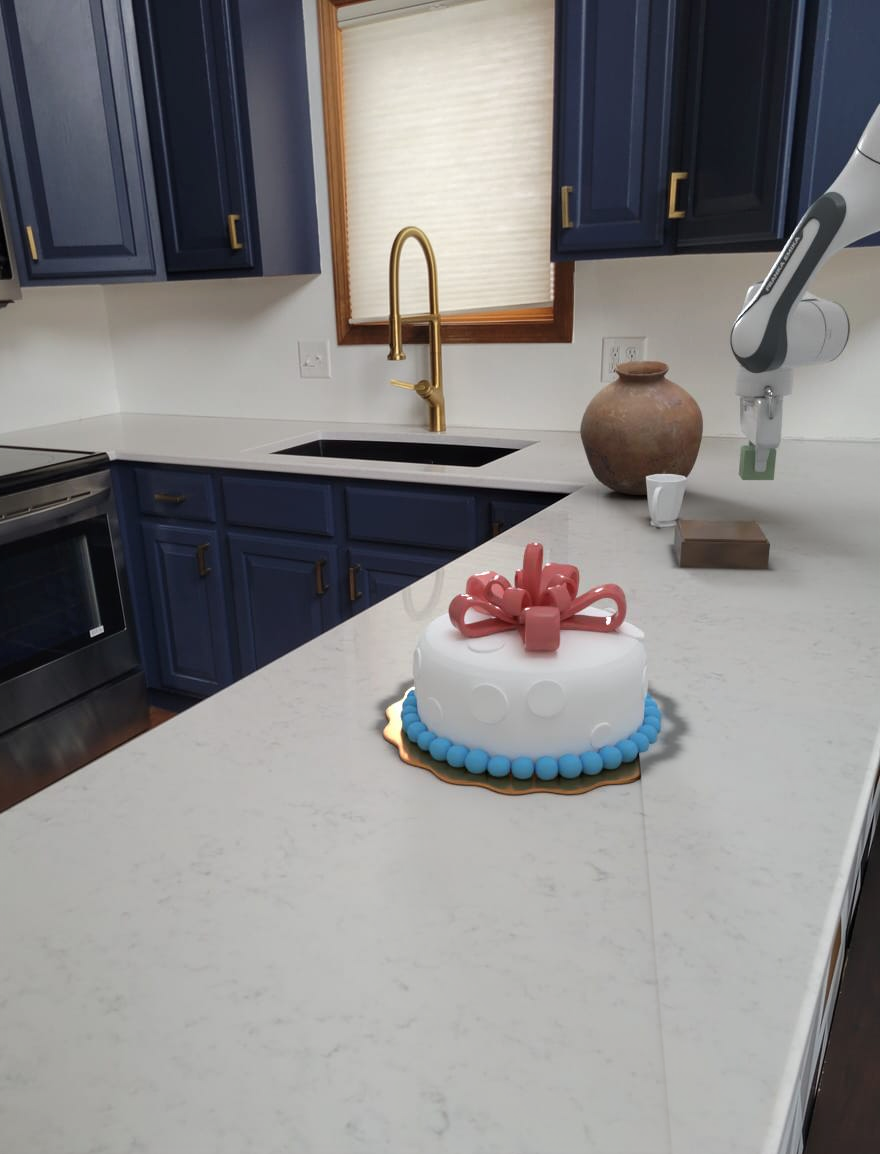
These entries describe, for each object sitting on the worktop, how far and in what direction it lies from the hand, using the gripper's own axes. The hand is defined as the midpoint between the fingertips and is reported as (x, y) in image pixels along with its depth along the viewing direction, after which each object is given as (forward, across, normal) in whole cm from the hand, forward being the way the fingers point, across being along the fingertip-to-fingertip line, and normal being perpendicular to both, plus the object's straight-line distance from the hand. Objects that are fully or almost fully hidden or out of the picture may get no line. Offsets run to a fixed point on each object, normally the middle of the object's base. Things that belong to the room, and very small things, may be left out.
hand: (756, 467), depth 162 cm
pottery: (+9, +22, +19) cm, 30 cm away
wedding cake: (+9, -86, +32) cm, 93 cm away
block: (+2, 0, 0) cm, 2 cm away
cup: (+9, -5, +16) cm, 19 cm away
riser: (+9, -27, +8) cm, 30 cm away
